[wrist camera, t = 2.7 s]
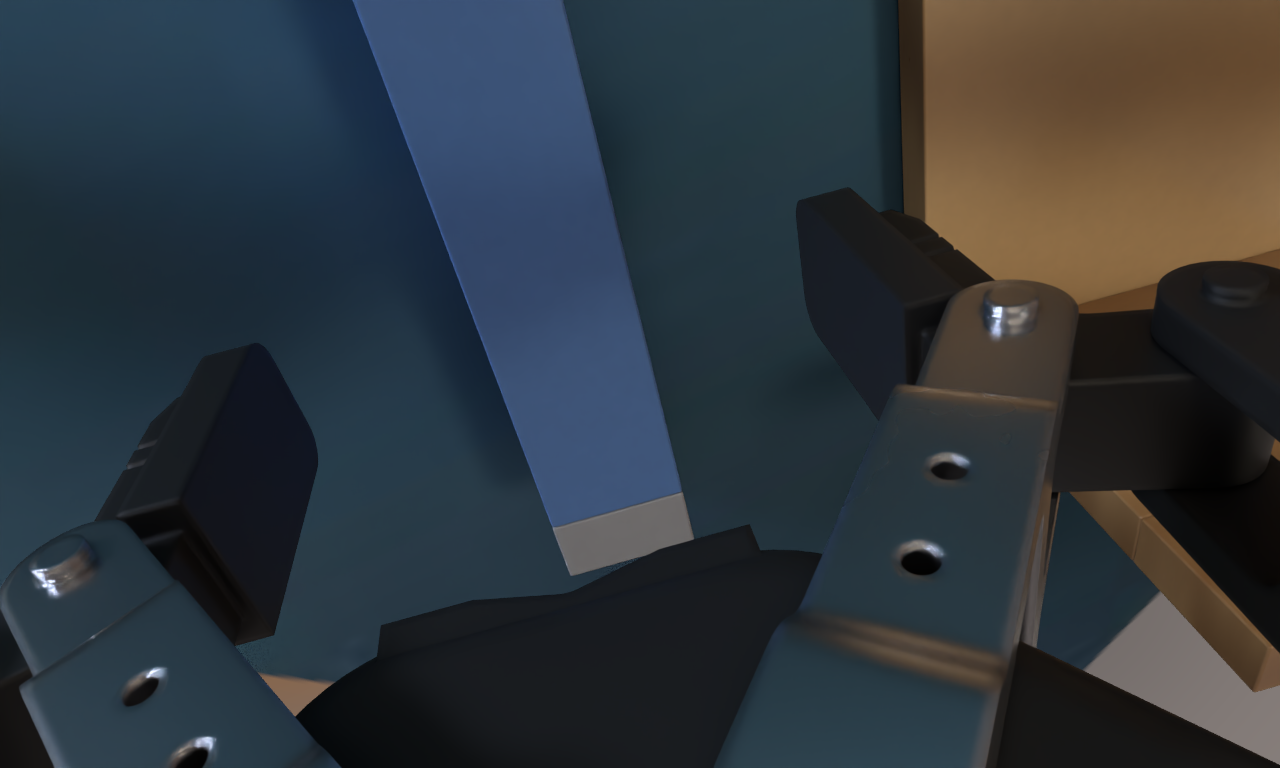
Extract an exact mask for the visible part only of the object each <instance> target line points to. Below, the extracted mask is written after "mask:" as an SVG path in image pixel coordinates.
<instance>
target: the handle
mask: <svg viewBox="0 0 1280 768" xmlns="http://www.w3.org/2000/svg"><path fill="white" fill-rule="evenodd" d="M353 2H354V5H355V8H356V10H357V13H358V15H359V18H360V21H361V23H362V26H363V29H364V31H365V34H366V37H367V39H368V42H369V45H370V47H371V50H372V52H373V55H374V58H375V60H376V63H377V66H378V68H379V71H380V74H381V76H382V79H383V82H384V84H385V87H386V89H387V92H388V95H389V97H390V100H391V103H392V105H393V108H394V111H395V113H396V116H397V119H398V121H399V124H400V126H401V129H402V132H403V134H404V137H405V140H406V142H407V145H408V148H409V150H410V153H411V156H412V158H413V161H414V163H415V166H416V169H417V171H418V174H419V177H420V179H421V182H422V185H423V187H424V190H425V193H426V195H427V198H428V200H429V203H430V206H431V208H432V211H433V214H434V216H435V219H436V222H437V224H438V227H439V229H440V232H441V235H442V237H443V240H444V243H445V245H446V248H447V251H448V253H449V256H450V259H451V261H452V264H453V266H454V269H455V272H456V274H457V277H458V280H459V282H460V285H461V288H462V290H463V293H464V296H465V298H466V301H467V303H468V306H469V309H470V311H471V314H472V317H473V319H474V322H475V325H476V327H477V330H478V333H479V335H480V338H481V340H482V343H483V346H484V348H485V351H486V354H487V356H488V359H489V362H490V364H491V367H492V370H493V372H494V375H495V377H496V380H497V383H498V385H499V388H500V391H501V393H502V396H503V399H504V401H505V404H506V407H507V409H508V412H509V414H510V417H511V420H512V422H513V425H514V428H515V430H516V433H517V436H518V438H519V441H520V444H521V446H522V449H523V451H524V454H525V457H526V459H527V462H528V465H529V467H530V470H531V473H532V475H533V478H534V480H535V483H536V486H537V488H538V491H539V494H540V496H541V499H542V502H543V504H544V507H545V510H546V512H547V515H548V517H549V520H550V523H551V525H552V526H553V531H554V533H555V536H556V539H557V541H558V544H559V547H560V549H561V552H562V555H563V557H564V560H565V563H566V565H567V568H568V570H569V573H570V575H571V576H574V575H577V574H581V573H584V572H588V571H591V570H595V569H599V568H602V567H606V566H609V565H613V564H616V563H620V562H623V561H627V560H631V559H634V558H638V557H641V556H645V555H648V554H650V553H652V552H654V551H656V550H658V549H661V548H665V547H668V546H672V545H676V544H679V543H683V542H687V541H690V540H694V536H693V532H692V528H691V524H690V520H689V516H688V512H687V508H686V503H685V499H684V495H683V492H682V487H681V483H680V479H679V475H678V471H677V466H676V462H675V458H674V454H673V450H672V446H671V442H670V438H669V434H668V429H667V425H666V421H665V417H664V413H663V409H662V405H661V401H660V396H659V392H658V388H657V384H656V380H655V376H654V372H653V368H652V364H651V359H650V355H649V351H648V347H647V343H646V339H645V335H644V331H643V327H642V322H641V318H640V314H639V310H638V306H637V302H636V298H635V294H634V289H633V285H632V281H631V277H630V273H629V269H628V265H627V261H626V257H625V252H624V248H623V244H622V240H621V236H620V232H619V228H618V224H617V219H616V215H615V211H614V207H613V203H612V199H611V195H610V191H609V187H608V182H607V178H606V174H605V170H604V166H603V162H602V158H601V154H600V150H599V145H598V141H597V137H596V133H595V129H594V125H593V121H592V117H591V112H590V108H589V104H588V100H587V96H586V92H585V88H584V84H583V80H582V75H581V71H580V67H579V63H578V59H577V55H576V51H575V47H574V43H573V38H572V34H571V30H570V26H569V22H568V18H567V14H566V10H565V5H564V1H563V0H353Z"/></svg>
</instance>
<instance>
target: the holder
mask: <svg viewBox="0 0 1280 768" xmlns="http://www.w3.org/2000/svg"><path fill="white" fill-rule="evenodd" d="M898 8H899V45H900V82H901V119H902V155H903V192H904V214H906V215H909V216H913V217H916V218H919V219H921V220H922V221H923V222H925V223H926V224H927V225H928V226H930V227H931V228H932V229H933V230H934V231H936V232H937V233H938V234H939V237H943V238H944V239H945V240H947V241H948V242H949V243H950V244H952V245H953V246H954V250H956V249H958V250H959V251H960V252H961V253H963V254H964V255H965V256H966V257H968V258H969V259H970V260H971V261H972V262H974V263H975V264H976V265H977V266H979V267H980V268H981V269H982V270H983V271H985V272H986V273H987V274H988V275H990V276H991V277H992V278H993V279H994V280H1007V279H1018V280H1030V281H1036V282H1041V283H1045V284H1048V285H1052V286H1054V287H1057V288H1059V289H1061V290H1063V291H1065V292H1066V293H1068V294H1069V295H1070V296H1071V297H1073V299H1074V300H1075V301H1076V303H1077V305H1078V308H1079V313H1104V312H1117V311H1130V310H1143V309H1154V303H1155V297H1156V291H1157V285H1158V283H1159V281H1160V279H1161V278H1162V277H1163V276H1164V275H1166V274H1167V273H1169V272H1170V271H1172V270H1174V269H1177V268H1179V267H1182V266H1186V265H1189V264H1194V263H1199V262H1208V261H1242V262H1251V263H1257V264H1262V265H1267V266H1270V267H1274V268H1278V269H1280V0H898ZM1271 454H1272V455H1273V456H1274V457H1275V458H1276V459H1278V460H1279V461H1280V442H1279V441H1277V440H1276V439H1275V441H1274V445H1273V448H1272V452H1271ZM1070 493H1071V494H1072V495H1073V496H1074V498H1075V499H1076V500H1077V501H1078V502H1079V503H1080V504H1081V505H1082V506H1083V507H1084V508H1085V510H1086V511H1087V512H1088V513H1089V514H1090V515H1091V516H1092V517H1093V518H1094V519H1095V520H1096V521H1097V523H1098V524H1099V525H1100V526H1101V527H1102V528H1103V529H1104V530H1105V531H1106V532H1107V533H1108V535H1109V536H1110V537H1111V538H1112V539H1113V540H1114V541H1115V542H1116V543H1117V544H1118V545H1119V546H1120V548H1121V549H1122V550H1123V551H1124V552H1125V553H1126V554H1127V555H1128V556H1129V557H1130V558H1131V560H1134V562H1135V564H1136V565H1137V566H1138V567H1139V568H1140V569H1141V571H1142V572H1143V573H1144V574H1145V575H1146V576H1147V577H1148V578H1149V579H1150V580H1151V581H1152V582H1153V584H1154V585H1155V586H1156V587H1157V588H1158V589H1159V590H1160V591H1161V592H1162V593H1163V594H1164V596H1165V597H1166V598H1167V599H1168V600H1169V601H1170V602H1171V603H1172V604H1173V605H1174V606H1175V607H1176V609H1177V610H1178V611H1179V612H1180V613H1181V614H1182V615H1183V616H1184V617H1185V618H1186V619H1187V620H1188V622H1189V623H1190V624H1191V625H1192V626H1193V627H1194V628H1195V629H1196V630H1197V631H1198V632H1199V634H1200V635H1201V636H1202V637H1203V638H1204V639H1205V640H1206V641H1207V642H1208V643H1209V644H1210V645H1211V647H1212V648H1213V649H1214V650H1215V651H1216V652H1217V653H1218V654H1219V655H1220V656H1221V658H1223V660H1224V661H1225V662H1226V663H1227V664H1228V665H1229V666H1230V667H1231V668H1232V669H1233V671H1235V673H1236V674H1237V675H1238V676H1239V677H1240V678H1241V679H1242V680H1243V681H1244V682H1245V683H1246V685H1247V686H1248V687H1249V688H1250V689H1251V690H1252V691H1253V692H1258V691H1262V690H1265V689H1268V688H1272V687H1275V686H1278V685H1280V653H1279V652H1278V651H1277V650H1276V649H1275V648H1274V647H1273V646H1272V645H1271V644H1270V643H1269V641H1268V640H1267V639H1266V638H1265V637H1264V636H1263V635H1262V634H1261V633H1260V632H1259V631H1258V629H1257V628H1256V627H1255V626H1254V625H1253V624H1252V623H1251V622H1250V621H1249V620H1248V619H1247V617H1246V616H1245V615H1244V614H1243V613H1242V612H1241V611H1240V610H1239V609H1238V608H1237V607H1236V605H1235V604H1234V603H1233V602H1232V601H1231V600H1230V599H1229V598H1228V597H1227V596H1226V595H1225V593H1224V592H1223V591H1222V590H1221V589H1220V588H1219V587H1218V586H1217V585H1216V584H1215V583H1214V581H1213V580H1212V579H1211V578H1210V577H1209V576H1208V575H1207V574H1206V573H1205V572H1204V571H1203V569H1202V568H1201V567H1200V566H1199V565H1198V564H1197V563H1196V562H1195V561H1194V560H1193V559H1192V557H1191V556H1190V555H1189V554H1188V553H1187V552H1186V551H1185V550H1184V549H1183V548H1182V547H1181V545H1180V544H1179V543H1178V542H1177V541H1176V540H1175V539H1174V538H1173V537H1172V536H1171V535H1170V533H1169V532H1168V531H1167V530H1166V529H1165V528H1164V527H1163V526H1162V525H1161V524H1160V523H1159V521H1158V520H1157V519H1156V518H1155V517H1154V516H1153V515H1152V514H1151V513H1150V512H1149V511H1148V509H1147V508H1146V507H1145V506H1144V505H1143V504H1142V503H1141V502H1140V501H1139V500H1138V499H1137V497H1136V496H1135V495H1134V494H1133V492H1132V491H1131V490H1122V491H1085V492H1070Z"/></svg>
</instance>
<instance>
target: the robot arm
mask: <svg viewBox="0 0 1280 768" xmlns="http://www.w3.org/2000/svg"><path fill="white" fill-rule="evenodd" d="M796 220H797V230H798V239H799V248H800V258H801V267H802V276H803V286H804V294H805V301H806V306H807V310H808V314H809V317H810V320H811V323H812V325H813V327H814V330H815V331H816V333H817V335H818V336H819V338H820V339H821V341H822V342H823V343H824V345H825V346H826V348H827V349H828V350H829V352H830V353H831V355H832V356H833V357H834V359H835V360H836V362H837V363H838V364H839V366H840V367H841V369H842V370H843V371H844V373H845V374H846V376H847V377H848V378H849V380H850V381H851V383H852V384H853V385H854V387H855V388H856V390H857V391H858V392H859V394H860V395H861V397H862V398H863V399H864V401H865V402H866V404H867V405H868V406H869V408H870V409H871V411H872V412H873V413H874V415H875V416H876V418H877V419H878V420H879V422H878V425H877V427H876V429H875V432H874V434H873V436H872V439H871V441H870V443H869V446H868V448H867V450H866V453H865V455H864V458H863V460H862V462H861V465H860V467H859V469H858V472H857V474H856V476H855V479H854V481H853V483H852V486H851V488H850V490H849V493H848V495H847V498H846V500H845V502H844V505H843V507H842V509H841V512H840V514H839V516H838V519H837V521H836V523H835V526H834V528H833V531H832V533H831V535H830V538H829V540H828V542H827V545H826V547H825V549H824V552H823V554H819V553H812V552H804V551H797V550H762V551H760V549H759V546H758V544H757V541H756V539H755V537H754V534H753V532H752V529H751V527H750V524H749V525H745V526H741V527H738V528H734V529H730V530H727V531H723V532H719V533H716V534H712V535H708V536H705V537H701V538H698V539H694V540H690V541H687V542H683V543H679V544H676V545H672V546H668V547H665V548H661V549H658V550H656V551H654V552H652V553H650V554H648V555H646V556H644V557H642V558H640V559H638V560H636V561H634V562H632V563H630V564H628V565H626V566H624V567H622V568H620V569H618V570H616V571H614V572H612V573H610V574H608V575H606V576H604V577H602V578H600V579H598V580H596V581H593V582H591V583H589V584H587V585H585V586H583V587H581V588H579V589H577V590H575V591H572V592H569V593H565V594H557V595H543V596H528V597H513V598H499V599H484V600H472V601H468V602H464V603H461V604H457V605H453V606H450V607H446V608H442V609H439V610H435V611H432V612H428V613H424V614H421V615H417V616H413V617H410V618H406V619H402V620H399V621H395V622H391V623H388V624H384V625H381V629H380V637H379V645H378V653H377V657H376V658H374V659H372V660H370V661H368V662H366V663H364V664H363V665H361V666H359V667H358V668H356V669H355V670H353V671H351V672H350V673H348V674H346V675H345V676H343V677H342V678H341V679H339V680H338V681H336V682H335V683H334V684H332V685H331V686H329V687H328V688H327V689H326V690H324V691H323V692H322V693H321V694H320V695H318V696H317V697H316V698H315V699H314V700H312V701H311V702H310V703H309V704H308V705H307V706H306V707H305V708H304V709H303V710H302V711H301V712H299V714H298V715H297V716H294V715H293V714H292V713H291V712H290V711H289V709H288V708H287V707H286V706H285V705H284V704H283V702H282V701H281V700H280V699H279V698H278V696H277V695H276V694H275V693H274V692H273V691H272V689H271V688H270V687H269V686H268V685H267V683H266V682H265V681H264V680H263V679H262V678H261V676H260V675H259V674H258V673H257V672H256V671H255V669H254V668H253V667H252V666H251V665H250V664H249V662H248V661H247V660H246V659H245V658H244V656H243V655H242V654H241V653H240V652H239V651H238V649H237V648H236V647H235V646H236V645H240V644H244V643H247V642H251V641H255V640H258V639H262V638H266V637H269V636H273V635H274V633H275V629H276V626H277V622H278V618H279V614H280V610H281V606H282V602H283V599H284V595H285V591H286V587H287V583H288V579H289V575H290V572H291V568H292V564H293V560H294V556H295V552H296V549H297V545H298V541H299V537H300V533H301V529H302V525H303V522H304V518H305V514H306V510H307V506H308V502H309V499H310V495H311V491H312V487H313V483H314V479H315V475H316V472H317V467H318V453H317V447H316V443H315V439H314V436H313V433H312V431H311V428H310V426H309V424H308V422H307V421H306V419H305V417H304V415H303V413H302V411H301V410H300V408H299V406H298V404H297V402H296V400H295V399H294V397H293V395H292V393H291V391H290V389H289V387H288V386H287V384H286V382H285V380H284V378H283V376H282V375H281V373H280V371H279V369H278V367H277V365H276V363H275V362H274V360H273V358H272V356H271V355H270V353H269V352H268V351H267V350H266V348H265V347H263V346H262V345H261V344H259V343H253V344H250V345H246V346H242V347H238V348H234V349H231V350H227V351H223V352H219V353H215V354H212V355H208V356H205V357H203V358H202V359H201V361H200V363H199V364H198V366H197V368H196V370H195V372H194V374H193V375H192V377H191V379H190V381H189V383H188V385H187V386H186V388H185V390H184V392H183V394H182V395H181V397H179V398H177V399H176V400H174V401H173V402H172V403H171V404H170V405H169V406H168V407H167V408H166V409H165V410H164V411H163V412H162V413H161V414H159V415H158V416H157V417H156V418H155V419H154V420H153V421H152V422H151V423H150V425H149V427H148V429H147V430H146V432H145V434H144V436H143V437H142V439H141V441H140V443H139V444H138V449H139V450H136V451H134V453H133V455H132V456H131V458H130V460H129V462H128V463H127V465H126V466H127V470H124V471H123V472H122V474H121V476H120V477H119V479H118V481H117V483H116V484H115V486H114V488H113V489H112V491H111V493H110V495H109V496H108V498H107V500H106V502H105V503H104V505H103V507H102V509H101V510H100V512H99V514H98V516H97V517H96V519H95V521H94V522H90V523H87V524H84V525H81V526H78V527H76V528H73V529H71V530H69V531H66V532H64V533H62V534H60V535H58V536H57V537H55V538H53V539H51V540H50V541H48V542H47V543H45V544H43V545H42V546H40V547H39V548H38V549H36V550H35V551H34V552H32V553H31V554H30V555H28V556H27V557H26V558H25V559H24V560H23V561H21V562H20V563H19V564H18V565H17V566H16V567H15V569H14V570H13V571H12V572H11V573H10V574H9V576H8V577H7V578H6V580H5V581H4V583H3V584H2V586H1V588H0V768H1280V765H1279V764H1276V763H1275V762H1273V761H1270V760H1268V759H1266V758H1264V757H1262V756H1260V755H1258V754H1256V753H1253V752H1252V751H1250V750H1247V749H1245V748H1243V747H1241V746H1239V745H1237V744H1235V743H1233V742H1231V741H1229V740H1226V739H1224V738H1222V737H1220V736H1218V735H1216V734H1214V733H1212V732H1210V731H1208V730H1206V729H1204V728H1202V727H1199V726H1197V725H1195V724H1193V723H1191V722H1189V721H1187V720H1185V719H1183V718H1181V717H1179V716H1177V715H1174V714H1172V713H1170V712H1168V711H1166V710H1164V709H1161V708H1160V707H1158V706H1156V705H1154V704H1151V703H1149V702H1147V701H1145V700H1143V699H1141V698H1139V697H1137V696H1135V695H1132V694H1131V693H1129V692H1126V691H1124V690H1122V689H1120V688H1118V687H1116V686H1114V685H1112V684H1110V683H1108V682H1106V681H1103V680H1101V679H1099V678H1097V677H1095V676H1093V675H1091V674H1089V673H1087V672H1085V671H1083V670H1081V669H1079V668H1076V667H1074V666H1072V665H1070V664H1068V663H1066V662H1064V661H1062V660H1060V659H1058V658H1056V657H1054V656H1051V655H1049V654H1047V653H1045V652H1043V651H1041V650H1039V649H1037V648H1036V646H1037V638H1038V630H1039V622H1040V615H1041V608H1042V602H1043V595H1044V589H1045V583H1046V577H1047V571H1048V565H1049V559H1050V553H1051V547H1052V541H1053V535H1054V529H1055V523H1056V517H1057V511H1058V505H1059V498H1060V492H1085V491H1122V490H1131V491H1132V492H1133V494H1134V495H1135V496H1136V497H1137V499H1138V500H1139V501H1140V502H1141V503H1142V504H1143V505H1144V506H1145V507H1146V508H1147V509H1148V511H1149V512H1150V513H1151V514H1152V515H1153V516H1154V517H1155V518H1156V519H1157V520H1158V521H1159V523H1160V524H1161V525H1162V526H1163V527H1164V528H1165V529H1166V530H1167V531H1168V532H1169V533H1170V535H1171V536H1172V537H1173V538H1174V539H1175V540H1176V541H1177V542H1178V543H1179V544H1180V545H1181V547H1182V548H1183V549H1184V550H1185V551H1186V552H1187V553H1188V554H1189V555H1190V556H1191V557H1192V559H1193V560H1194V561H1195V562H1196V563H1197V564H1198V565H1199V566H1200V567H1201V568H1202V569H1203V571H1204V572H1205V573H1206V574H1207V575H1208V576H1209V577H1210V578H1211V579H1212V580H1213V581H1214V583H1215V584H1216V585H1217V586H1218V587H1219V588H1220V589H1221V590H1222V591H1223V592H1224V593H1225V595H1226V596H1227V597H1228V598H1229V599H1230V600H1231V601H1232V602H1233V603H1234V604H1235V605H1236V607H1237V608H1238V609H1239V610H1240V611H1241V612H1242V613H1243V614H1244V615H1245V616H1246V617H1247V619H1248V620H1249V621H1250V622H1251V623H1252V624H1253V625H1254V626H1255V627H1256V628H1257V629H1258V631H1259V632H1260V633H1261V634H1262V635H1263V636H1264V637H1265V638H1266V639H1267V640H1268V641H1269V643H1270V644H1271V645H1272V646H1273V647H1274V648H1275V649H1276V650H1277V651H1278V652H1279V653H1280V461H1279V460H1278V459H1276V458H1275V457H1274V456H1273V455H1272V454H1271V452H1272V448H1273V445H1274V441H1275V439H1276V440H1277V441H1279V442H1280V269H1278V268H1274V267H1270V266H1267V265H1262V264H1257V263H1251V262H1242V261H1208V262H1199V263H1194V264H1189V265H1186V266H1182V267H1179V268H1177V269H1174V270H1172V271H1170V272H1169V273H1167V274H1166V275H1164V276H1163V277H1162V278H1161V279H1160V281H1159V283H1158V285H1157V291H1156V297H1155V303H1154V309H1143V310H1130V311H1117V312H1104V313H1079V308H1078V305H1077V303H1076V301H1075V300H1074V299H1073V297H1071V296H1070V295H1069V294H1068V293H1066V292H1065V291H1063V290H1061V289H1059V288H1057V287H1054V286H1052V285H1048V284H1045V283H1041V282H1036V281H1030V280H1018V279H1007V280H994V279H993V278H992V277H991V276H990V275H988V274H987V273H986V272H985V271H983V270H982V269H981V268H980V267H979V266H977V265H976V264H975V263H974V262H972V261H971V260H970V259H969V258H968V257H966V256H965V255H964V254H963V253H961V252H960V251H959V250H958V249H956V250H954V246H953V245H952V244H950V243H949V242H948V241H947V240H945V239H944V238H943V237H939V234H938V233H937V232H936V231H934V230H933V229H932V228H931V227H930V226H928V225H927V224H926V223H925V222H923V221H922V220H921V219H919V218H916V217H913V216H909V215H906V214H903V213H900V212H897V211H894V210H887V211H883V212H880V213H878V212H877V211H876V210H875V209H873V208H872V207H871V206H870V205H869V204H868V203H867V202H866V201H864V200H863V199H862V198H861V197H860V196H859V195H858V194H857V193H855V192H854V191H853V190H852V189H851V188H848V187H847V188H843V189H840V190H836V191H832V192H828V193H825V194H821V195H817V196H813V197H809V198H806V199H802V200H799V201H798V203H797V207H796Z"/></svg>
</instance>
